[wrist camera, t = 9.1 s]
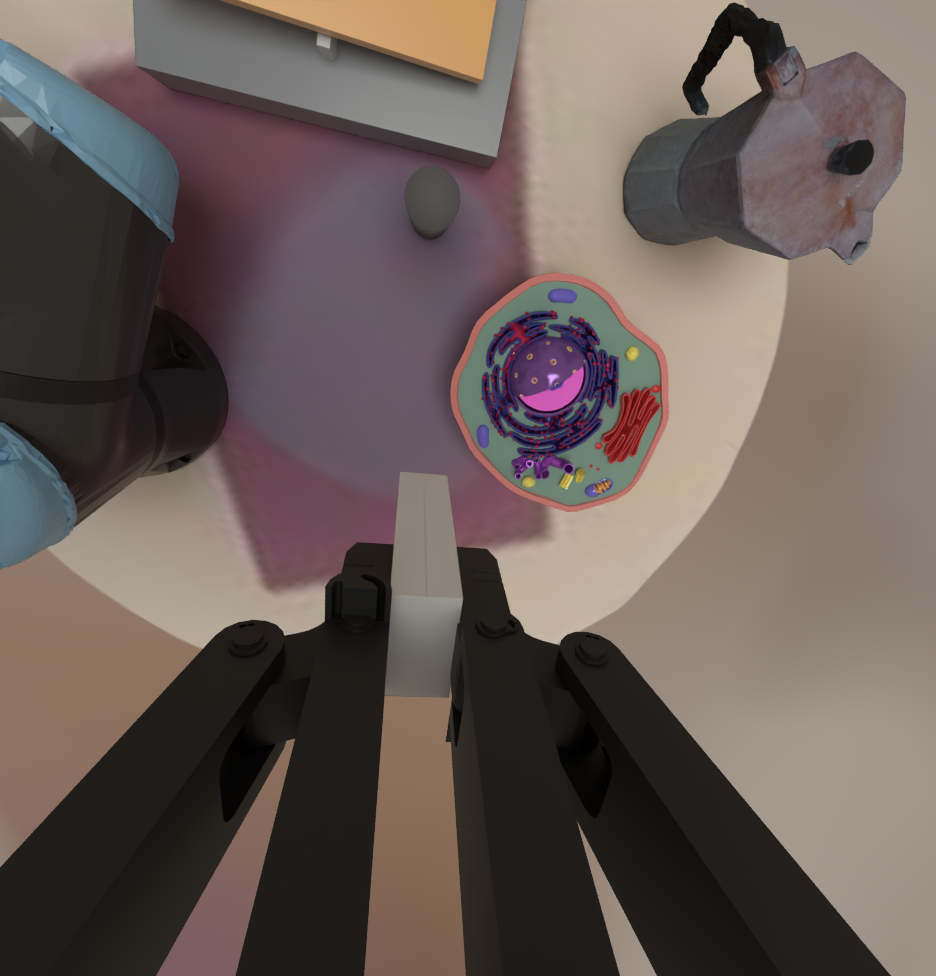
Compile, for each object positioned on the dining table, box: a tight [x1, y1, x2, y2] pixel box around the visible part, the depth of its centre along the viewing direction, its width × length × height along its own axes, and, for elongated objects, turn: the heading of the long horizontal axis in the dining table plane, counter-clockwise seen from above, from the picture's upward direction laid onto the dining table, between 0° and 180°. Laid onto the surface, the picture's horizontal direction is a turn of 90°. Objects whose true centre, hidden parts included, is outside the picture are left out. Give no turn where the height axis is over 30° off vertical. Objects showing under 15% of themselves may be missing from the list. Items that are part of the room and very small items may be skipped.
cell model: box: [450, 273, 669, 512], centre depth 44 cm, size 17×20×11 cm
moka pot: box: [624, 3, 906, 265], centre depth 34 cm, size 10×15×20 cm, turn 46°
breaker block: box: [133, 0, 527, 169], centre depth 34 cm, size 24×12×7 cm, turn 78°
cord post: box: [405, 166, 460, 239], centre depth 35 cm, size 3×3×16 cm
